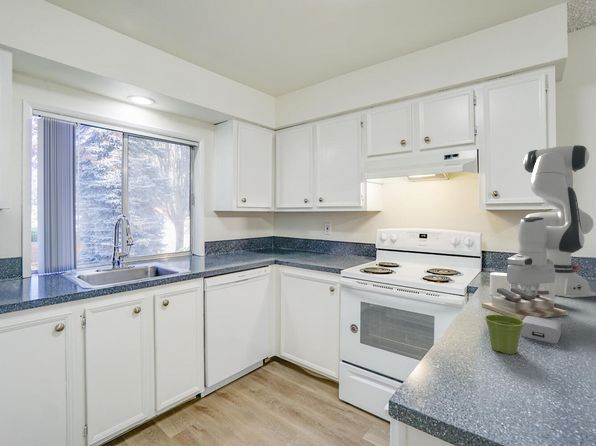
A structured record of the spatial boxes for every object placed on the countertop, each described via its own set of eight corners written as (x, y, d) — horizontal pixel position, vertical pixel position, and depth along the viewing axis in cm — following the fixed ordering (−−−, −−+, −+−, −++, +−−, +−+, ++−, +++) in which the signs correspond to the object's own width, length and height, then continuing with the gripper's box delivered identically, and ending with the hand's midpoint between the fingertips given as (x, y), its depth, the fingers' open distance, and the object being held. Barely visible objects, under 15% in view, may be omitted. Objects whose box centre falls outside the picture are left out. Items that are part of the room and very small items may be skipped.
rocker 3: (529, 292, 128) (528, 289, 128) (549, 294, 120) (548, 290, 120) (523, 293, 127) (523, 289, 127) (543, 294, 119) (542, 290, 119)
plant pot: (477, 342, 92) (477, 314, 92) (509, 342, 92) (509, 314, 92) (497, 357, 83) (497, 325, 83) (532, 357, 82) (533, 325, 82)
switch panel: (523, 302, 133) (523, 289, 133) (566, 314, 116) (566, 299, 116) (481, 306, 127) (481, 293, 127) (520, 320, 111) (520, 304, 111)
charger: (563, 331, 101) (557, 345, 90) (528, 324, 108) (519, 336, 97) (563, 316, 101) (558, 329, 90) (528, 310, 107) (519, 321, 97)
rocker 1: (502, 291, 124) (503, 287, 124) (520, 301, 117) (521, 297, 116) (496, 291, 123) (497, 288, 123) (514, 301, 116) (515, 298, 115)
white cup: (560, 305, 128) (560, 281, 128) (538, 304, 129) (538, 281, 129) (548, 300, 136) (548, 277, 135) (528, 299, 137) (528, 277, 137)
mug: (491, 271, 149) (521, 274, 142) (491, 292, 150) (521, 296, 142) (489, 274, 143) (520, 277, 135) (489, 296, 143) (520, 300, 136)
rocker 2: (516, 290, 126) (516, 287, 125) (535, 299, 118) (535, 295, 118) (510, 291, 125) (510, 287, 125) (529, 299, 117) (529, 296, 117)
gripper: (544, 257, 123) (543, 292, 123) (503, 258, 118) (503, 294, 118) (561, 259, 117) (560, 295, 117) (519, 260, 112) (518, 298, 112)
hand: (531, 295), depth 118 cm, fingers closed, pressing on rocker 2
